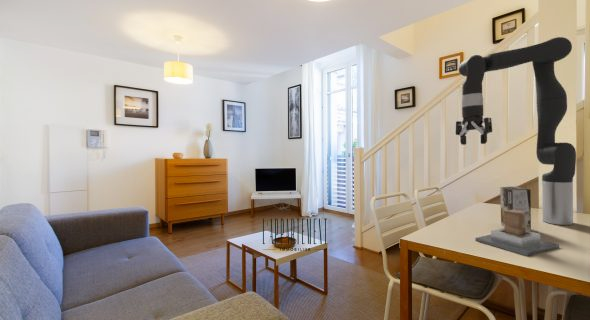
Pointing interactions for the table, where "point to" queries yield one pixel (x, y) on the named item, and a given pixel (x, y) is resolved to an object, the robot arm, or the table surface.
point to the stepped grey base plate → (517, 242)
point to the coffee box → (516, 203)
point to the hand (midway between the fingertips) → (473, 144)
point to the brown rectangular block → (515, 222)
